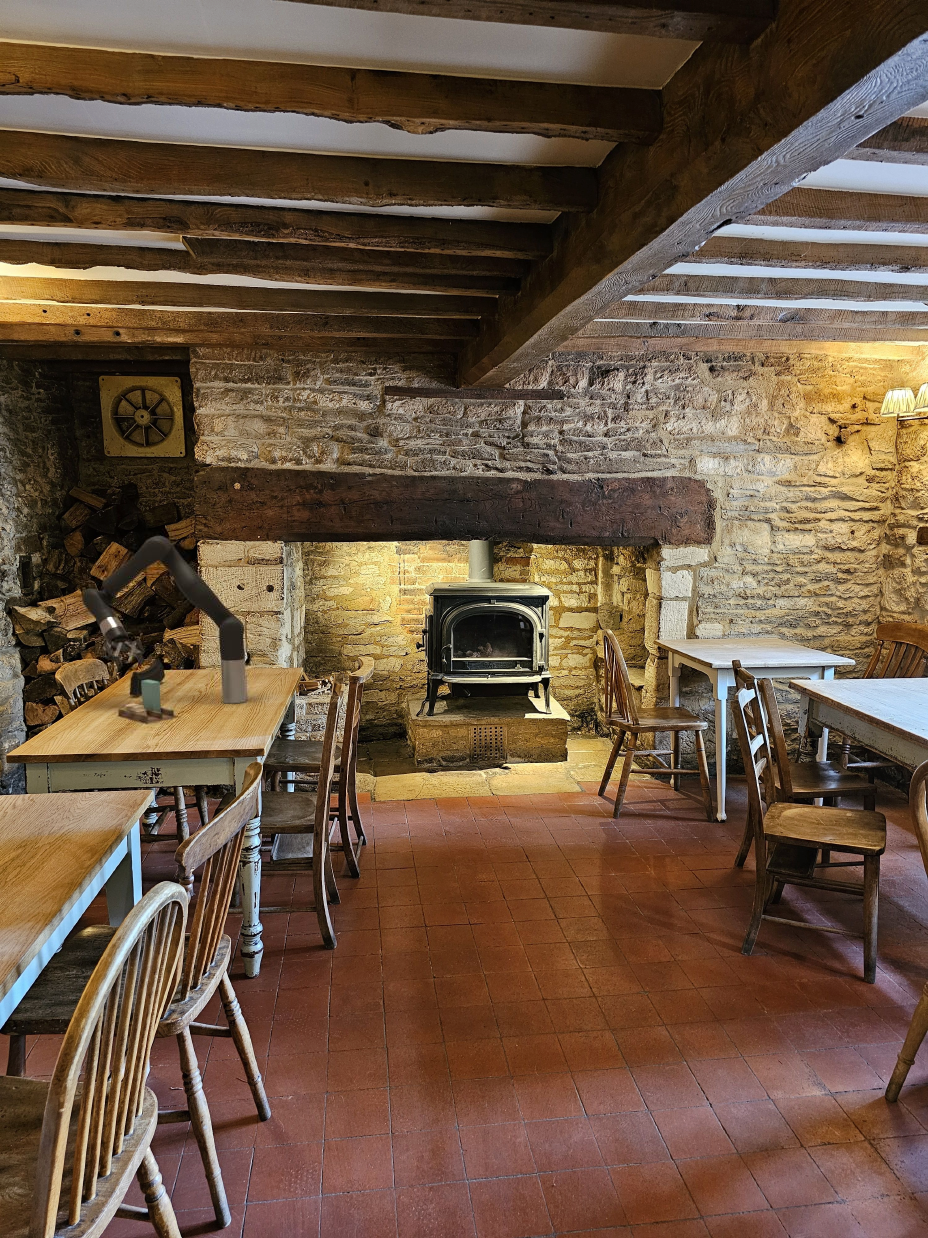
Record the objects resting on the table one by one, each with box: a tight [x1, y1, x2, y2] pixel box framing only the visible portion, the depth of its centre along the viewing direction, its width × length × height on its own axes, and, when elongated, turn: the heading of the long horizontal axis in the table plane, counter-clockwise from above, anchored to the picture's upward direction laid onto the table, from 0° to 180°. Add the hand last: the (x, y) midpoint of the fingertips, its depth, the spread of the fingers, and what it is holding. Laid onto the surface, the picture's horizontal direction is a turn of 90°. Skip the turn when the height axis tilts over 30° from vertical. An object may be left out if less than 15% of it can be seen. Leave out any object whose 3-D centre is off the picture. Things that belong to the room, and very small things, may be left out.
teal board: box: [141, 680, 162, 712], centre depth 297 cm, size 7×3×12 cm, turn 53°
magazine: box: [129, 658, 166, 697], centre depth 342 cm, size 17×3×30 cm
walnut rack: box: [116, 706, 181, 725], centre depth 294 cm, size 20×13×4 cm, turn 53°
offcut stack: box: [125, 703, 147, 716], centre depth 293 cm, size 8×4×4 cm, turn 53°
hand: (131, 664), depth 303 cm, fingers open, 8 cm apart
